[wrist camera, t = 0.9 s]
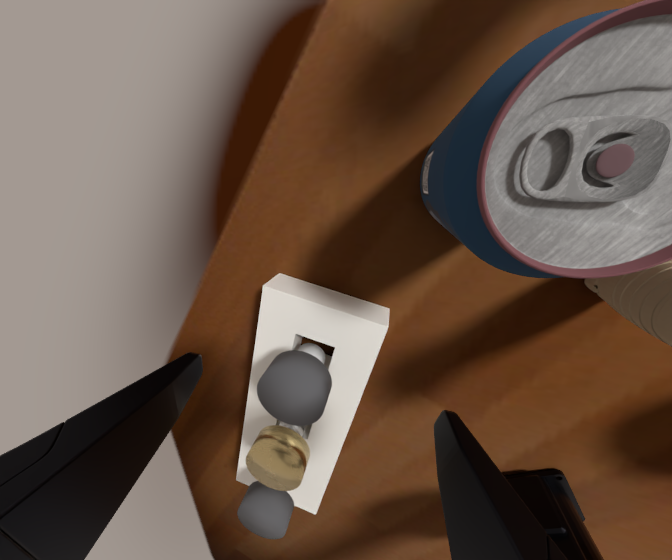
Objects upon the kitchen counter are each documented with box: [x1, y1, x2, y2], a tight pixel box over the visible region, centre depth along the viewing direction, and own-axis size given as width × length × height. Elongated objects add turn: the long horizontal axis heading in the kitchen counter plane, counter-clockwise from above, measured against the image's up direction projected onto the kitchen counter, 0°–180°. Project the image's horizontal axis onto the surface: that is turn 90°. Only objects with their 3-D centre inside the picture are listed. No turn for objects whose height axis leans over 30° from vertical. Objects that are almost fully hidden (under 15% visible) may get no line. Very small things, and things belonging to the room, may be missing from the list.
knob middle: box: [246, 421, 310, 491], centre depth 22 cm, size 5×5×5 cm
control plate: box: [236, 273, 390, 515], centre depth 25 cm, size 26×10×3 cm, turn 166°
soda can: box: [420, 0, 672, 279], centre depth 11 cm, size 7×7×12 cm
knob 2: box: [257, 343, 332, 426], centre depth 19 cm, size 5×5×5 cm
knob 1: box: [237, 481, 294, 539], centre depth 25 cm, size 5×5×5 cm
